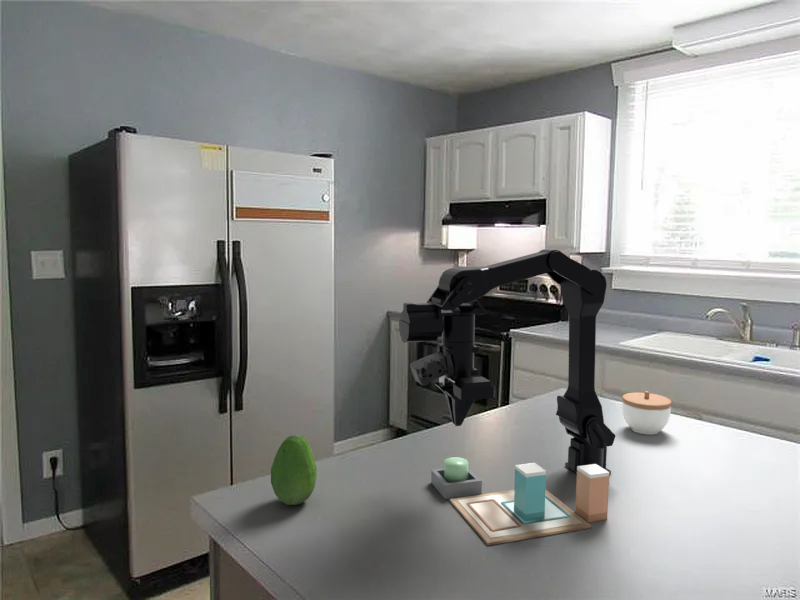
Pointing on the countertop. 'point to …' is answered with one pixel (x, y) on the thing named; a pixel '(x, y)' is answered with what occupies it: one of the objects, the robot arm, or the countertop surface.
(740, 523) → the countertop surface
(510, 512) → the colouring board
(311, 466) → the avocado
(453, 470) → the button
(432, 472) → the button pad
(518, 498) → the teal white tall block
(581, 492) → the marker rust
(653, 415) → the lidded jar
